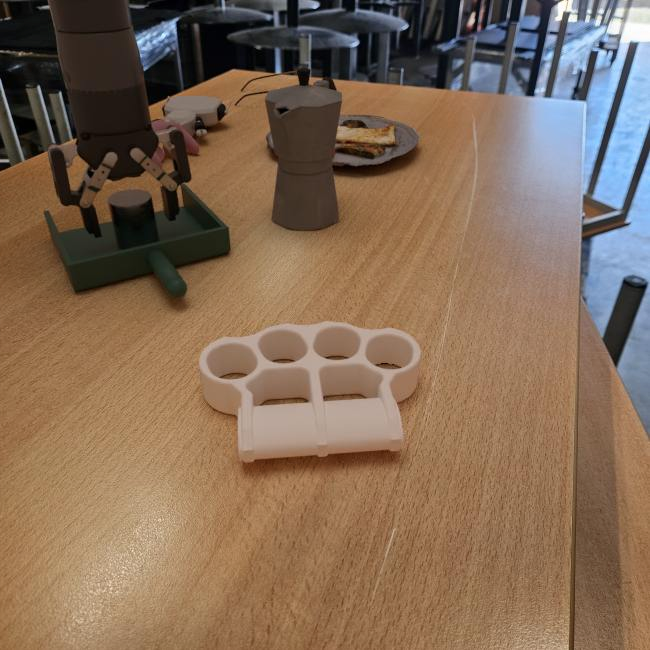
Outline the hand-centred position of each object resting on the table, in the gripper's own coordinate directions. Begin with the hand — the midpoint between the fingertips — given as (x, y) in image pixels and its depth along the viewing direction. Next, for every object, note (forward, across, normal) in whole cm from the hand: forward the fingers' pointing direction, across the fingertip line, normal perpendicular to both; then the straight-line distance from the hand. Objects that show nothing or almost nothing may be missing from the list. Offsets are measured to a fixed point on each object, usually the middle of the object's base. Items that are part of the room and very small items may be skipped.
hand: (134, 226), depth 66 cm
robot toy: (+3, -20, -38) cm, 43 cm away
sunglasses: (+3, -43, -51) cm, 67 cm away
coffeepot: (+3, -22, +2) cm, 22 cm away
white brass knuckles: (+2, -5, +33) cm, 33 cm away
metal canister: (+2, 0, 0) cm, 2 cm away
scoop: (+2, 0, +4) cm, 5 cm away
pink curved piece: (+3, -12, -26) cm, 29 cm away
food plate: (+3, -39, -17) cm, 43 cm away
